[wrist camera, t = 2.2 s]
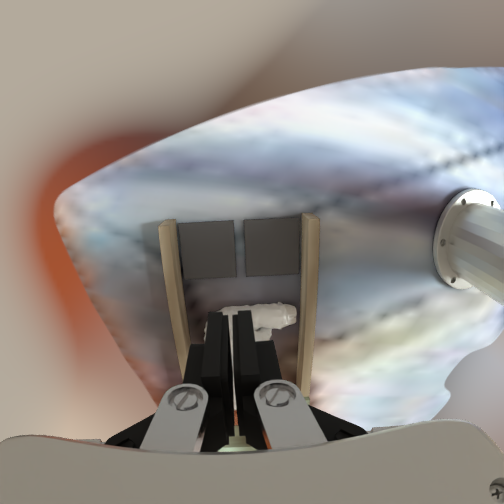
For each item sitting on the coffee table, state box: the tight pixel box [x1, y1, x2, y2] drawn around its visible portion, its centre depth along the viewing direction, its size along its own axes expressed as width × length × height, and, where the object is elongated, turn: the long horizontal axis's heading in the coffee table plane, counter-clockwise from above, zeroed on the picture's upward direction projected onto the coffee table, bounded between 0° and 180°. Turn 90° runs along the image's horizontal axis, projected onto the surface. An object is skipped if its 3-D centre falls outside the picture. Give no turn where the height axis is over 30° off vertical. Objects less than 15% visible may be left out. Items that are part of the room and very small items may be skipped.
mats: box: [179, 218, 299, 279], centre depth 30 cm, size 11×6×1 cm, turn 92°
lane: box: [158, 213, 320, 452], centre depth 31 cm, size 14×30×4 cm, turn 2°
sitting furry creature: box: [204, 302, 297, 410], centre depth 27 cm, size 10×9×12 cm
